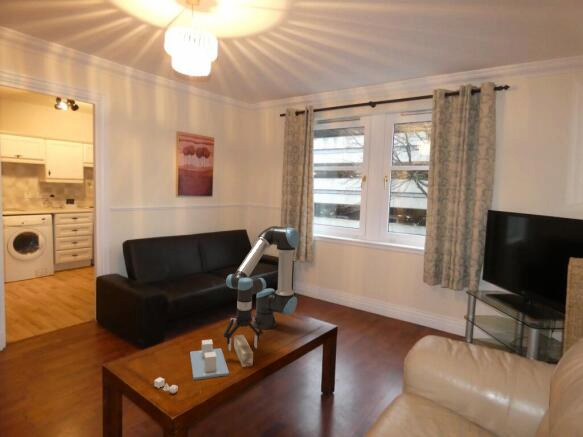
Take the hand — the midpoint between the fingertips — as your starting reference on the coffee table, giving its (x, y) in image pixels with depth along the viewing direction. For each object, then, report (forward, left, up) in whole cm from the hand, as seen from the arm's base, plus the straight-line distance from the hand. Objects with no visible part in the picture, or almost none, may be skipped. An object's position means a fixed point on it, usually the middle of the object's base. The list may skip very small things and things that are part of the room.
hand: (242, 348), depth 180 cm
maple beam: (0, 0, -4) cm, 4 cm away
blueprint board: (+18, +4, -4) cm, 19 cm away
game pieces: (+37, +21, -5) cm, 43 cm away
